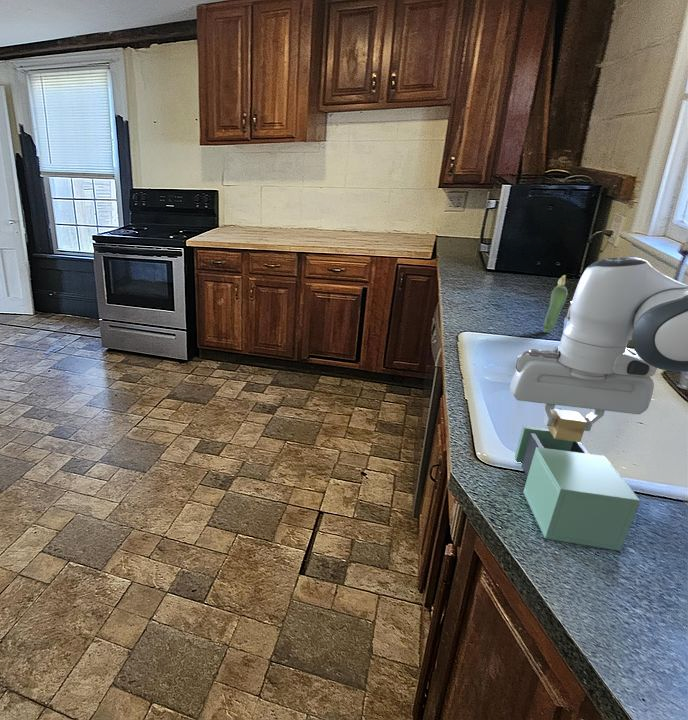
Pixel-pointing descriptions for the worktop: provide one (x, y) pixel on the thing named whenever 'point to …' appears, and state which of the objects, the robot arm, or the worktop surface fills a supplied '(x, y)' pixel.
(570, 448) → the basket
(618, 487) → the mint green box
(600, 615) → the worktop surface
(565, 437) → the cube
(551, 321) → the vegetable
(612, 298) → the robot arm
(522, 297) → the worktop surface
